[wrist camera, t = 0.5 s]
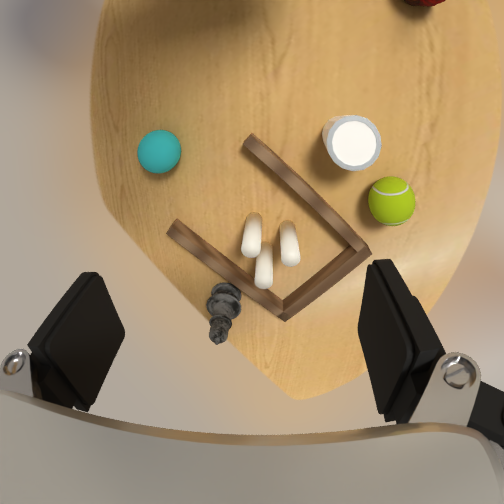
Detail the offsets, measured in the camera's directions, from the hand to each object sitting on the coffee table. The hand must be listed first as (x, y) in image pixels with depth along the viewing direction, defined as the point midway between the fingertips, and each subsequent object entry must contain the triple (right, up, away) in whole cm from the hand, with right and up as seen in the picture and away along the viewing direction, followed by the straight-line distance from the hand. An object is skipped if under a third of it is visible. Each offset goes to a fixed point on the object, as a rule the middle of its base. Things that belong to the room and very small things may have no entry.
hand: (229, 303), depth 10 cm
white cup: (+13, +18, +28) cm, 36 cm away
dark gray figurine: (-4, -6, +43) cm, 43 cm away
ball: (-12, +15, +27) cm, 33 cm away
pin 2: (+6, +5, +35) cm, 36 cm away
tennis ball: (+21, +11, +32) cm, 39 cm away
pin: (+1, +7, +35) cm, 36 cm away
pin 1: (+3, +2, +37) cm, 38 cm away
